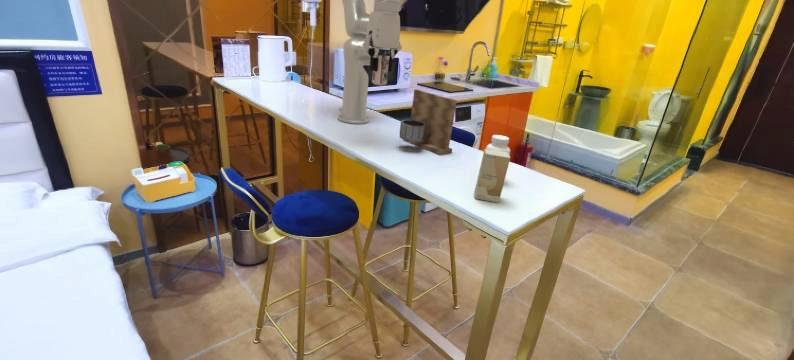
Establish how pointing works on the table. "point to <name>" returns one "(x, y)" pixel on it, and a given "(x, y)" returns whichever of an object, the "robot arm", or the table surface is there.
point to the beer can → (382, 67)
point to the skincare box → (491, 175)
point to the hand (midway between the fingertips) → (380, 70)
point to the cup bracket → (430, 122)
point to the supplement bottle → (499, 143)
